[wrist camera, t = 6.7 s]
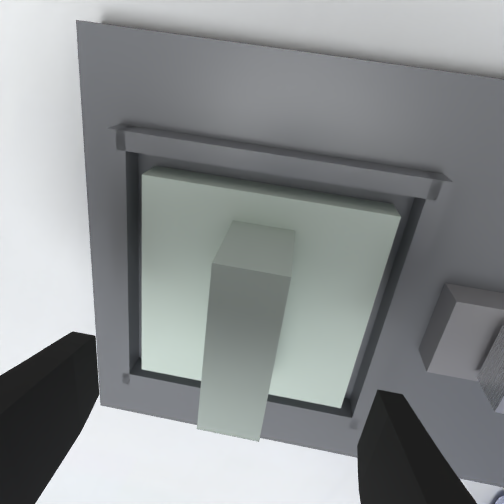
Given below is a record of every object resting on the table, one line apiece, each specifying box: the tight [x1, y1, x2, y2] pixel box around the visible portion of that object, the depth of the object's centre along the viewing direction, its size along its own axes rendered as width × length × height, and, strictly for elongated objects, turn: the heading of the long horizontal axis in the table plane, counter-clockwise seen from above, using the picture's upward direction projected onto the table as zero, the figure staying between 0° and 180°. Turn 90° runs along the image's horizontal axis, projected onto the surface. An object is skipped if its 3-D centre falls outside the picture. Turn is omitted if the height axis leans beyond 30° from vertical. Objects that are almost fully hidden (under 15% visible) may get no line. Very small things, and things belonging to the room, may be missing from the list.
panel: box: [76, 20, 504, 487], centre depth 15 cm, size 20×16×3 cm
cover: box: [142, 166, 401, 442], centre depth 13 cm, size 8×8×4 cm
